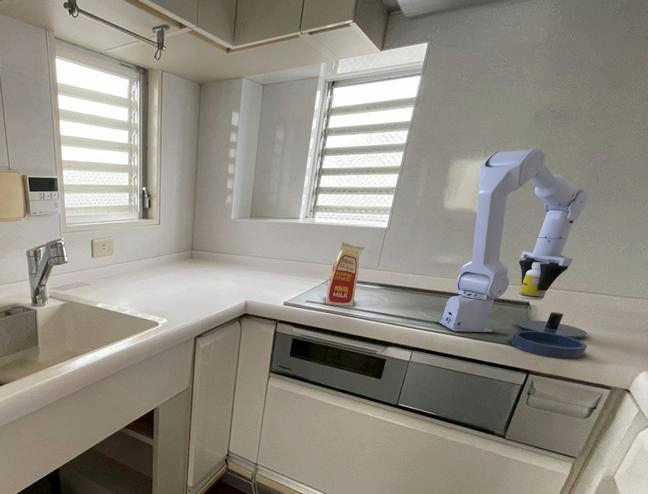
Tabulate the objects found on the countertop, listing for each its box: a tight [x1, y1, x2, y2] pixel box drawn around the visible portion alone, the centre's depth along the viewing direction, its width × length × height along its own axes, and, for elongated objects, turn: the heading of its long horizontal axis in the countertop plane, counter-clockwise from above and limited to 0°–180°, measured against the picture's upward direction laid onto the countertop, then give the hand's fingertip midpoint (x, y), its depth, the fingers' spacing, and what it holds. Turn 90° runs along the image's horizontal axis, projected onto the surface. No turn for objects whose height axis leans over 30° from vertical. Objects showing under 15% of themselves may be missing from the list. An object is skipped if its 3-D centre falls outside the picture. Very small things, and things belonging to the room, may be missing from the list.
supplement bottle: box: [518, 262, 549, 301], centre depth 113 cm, size 5×5×10 cm
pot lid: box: [517, 311, 588, 339], centre depth 107 cm, size 14×14×5 cm
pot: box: [511, 330, 588, 360], centre depth 96 cm, size 13×13×2 cm
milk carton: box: [325, 241, 366, 306], centre depth 134 cm, size 9×9×20 cm
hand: (533, 287), depth 113 cm, fingers closed on supplement bottle, 5 cm apart
